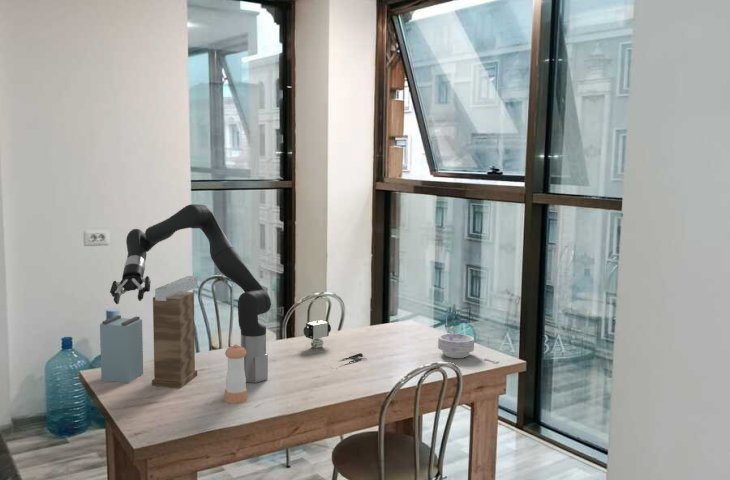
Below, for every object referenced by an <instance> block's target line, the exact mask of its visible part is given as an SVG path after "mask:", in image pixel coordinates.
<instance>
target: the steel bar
mask: <svg viewBox="0 0 730 480" xmlns="http://www.w3.org/2000/svg"><path fill="white" fill-rule="evenodd" d="M198 282H199V279H198V276H192V275H187V276H184V277H182V278H179V279H176V280H175V281H172V282H170V283H167V284H164V285H161V286H159V287H156V288H155V289H154V294H155V295H154V297H155V300H157V301H167V300H170V299H172V298H174V297H176V296H178V295H181V294H183V293H185V292H191V291H192V290H194V289H196V288H198V287H199V284H198Z"/></svg>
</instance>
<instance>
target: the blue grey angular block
mask: <svg viewBox="0 0 730 480" xmlns="http://www.w3.org/2000/svg"><path fill="white" fill-rule="evenodd" d="M99 340H100V341H99V342H100V343H99V344H100V345H99V346H100V374H101V376H100V377H101V381H102V382H103V381H104V382H113V381H114V383H116V382H117V383H126V384H130V383H131V382H133V381H136V379H138V378H139V377H141V376H143V375H144V351H143V349H144V348H143V347H144V346H143V345H144V344H143V343H144V342H143V319H141V318H140V316H134V317H132V318H125V317H124V318H123V317H122V315H121V314H120V315H115V316H112V317H110V318H108V319H105V320H103V321H102V322H101V323H100V324H99Z"/></svg>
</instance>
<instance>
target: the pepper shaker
mask: <svg viewBox="0 0 730 480" xmlns="http://www.w3.org/2000/svg"><path fill="white" fill-rule="evenodd" d="M224 355H225V356H226V358H227V371H226V378H225V387H226V388H225V390H224V400H225V402H226V403H228V404H241V403H244V402H246V401H247V400H248V390H247V387H246V384H247V382H246V377H245V371H244V357H245V355H246V350H245V348H243V347H241V345H238V344H234V345H233V346H230V347H227V349H225V353H224Z"/></svg>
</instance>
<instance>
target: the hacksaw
mask: <svg viewBox="0 0 730 480" xmlns="http://www.w3.org/2000/svg"><path fill="white" fill-rule="evenodd" d="M358 356H361V357H358ZM363 356H364V354H363V353H361V352H360V353H356V354H353V355H350V356H348V357H346V358H343V359H346V360H349V358H353V359H352V360H350V361H348V362H349V363H350V362H353V363H355V362H354V361H356V362H359V361H358V360H360V361H362V360H368V358H367V357H363ZM354 357H356V358H354ZM350 364H351V363H350Z"/></svg>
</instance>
